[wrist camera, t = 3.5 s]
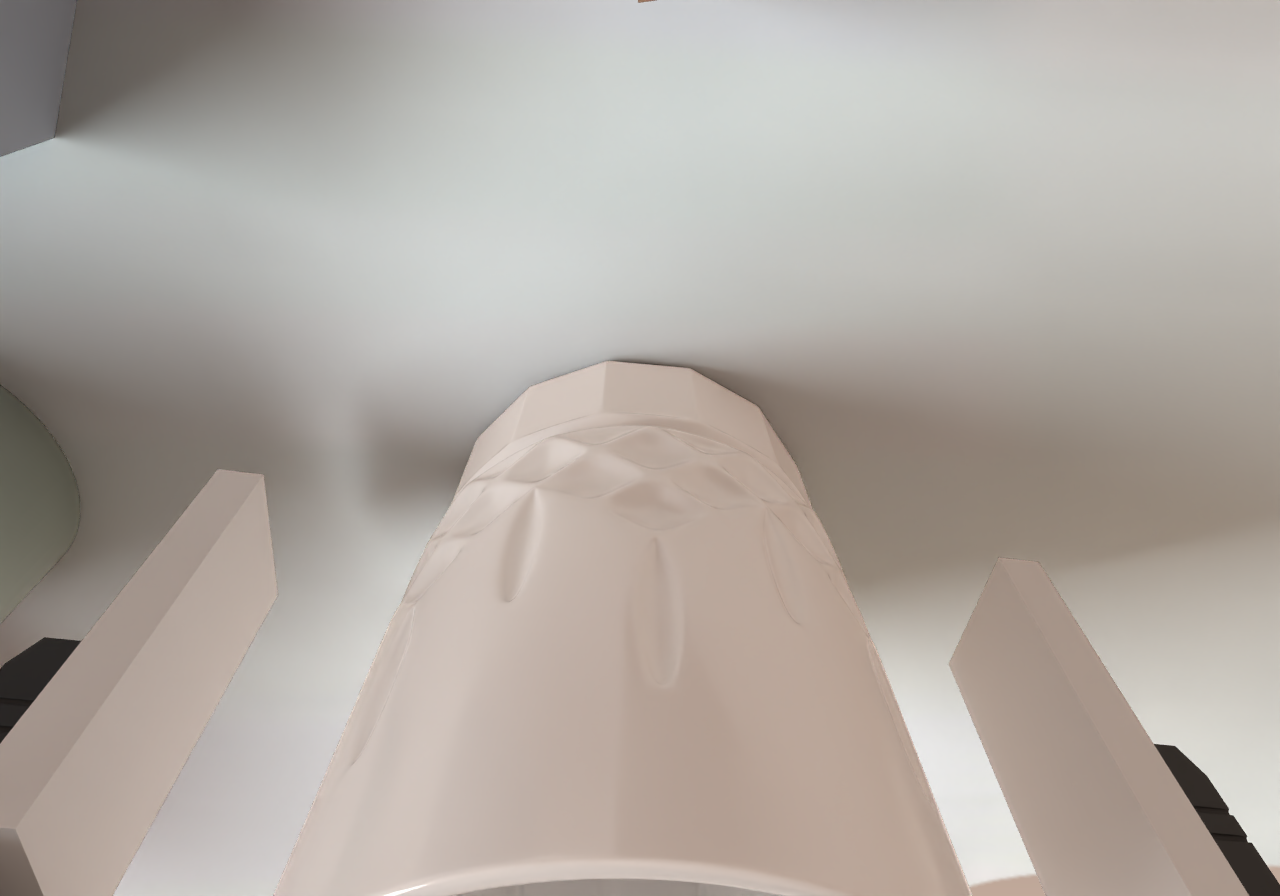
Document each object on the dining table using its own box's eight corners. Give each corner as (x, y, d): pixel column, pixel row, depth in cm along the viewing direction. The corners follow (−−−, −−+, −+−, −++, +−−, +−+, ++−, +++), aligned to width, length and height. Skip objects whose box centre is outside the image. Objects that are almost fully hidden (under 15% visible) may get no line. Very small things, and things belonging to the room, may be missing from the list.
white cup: (738, 679, 19) (814, 1259, 11) (403, 599, 18) (195, 1187, 10) (898, 398, 15) (1210, 966, 7) (484, 269, 14) (251, 776, 6)
